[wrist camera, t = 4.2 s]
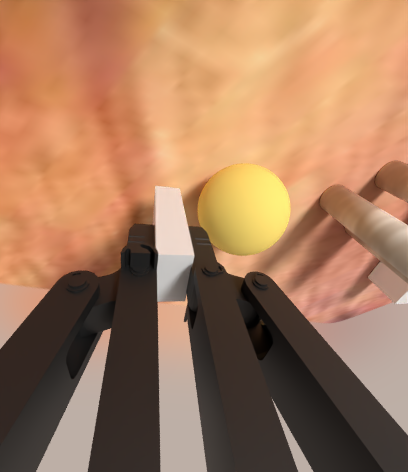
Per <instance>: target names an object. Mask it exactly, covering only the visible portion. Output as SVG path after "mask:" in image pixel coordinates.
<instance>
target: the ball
mask: <svg viewBox="0 0 408 472" xmlns="http://www.w3.org/2000/svg"><path fill="white" fill-rule="evenodd" d="M197 211H198V220H199V224H200V226H201V227H202V228H203V229H204V230H205V231H206V232H207V233H208V236H209V240H210V242H211V243H212V244H213V245H214V246H215V247H217V248H218V249H220V250H222V251H224V252H226V253H229V254H233V255H240V256H246V255H253V254H257V253H260V252H262V251H264V250H266V249H268V248H269V247H271V246H272V245H273V244H275V243H276V242H277V241H278V240H279V238H280V237H281V236H282V235H283V233H284V231H285V229H286V227H287V225H288V221H289V217H290V201H289V196H288V193H287V191H286V188H285V186H284V185H283V183H282V182H281V181H280V180H279V178H278V177H277V176H276V175H275V174H273V173H272V172H271V171H269V170H268V169H266V168H264V167H261V166H258V165H254V164H235V165H232V166H229V167H226V168H224V169H222V170H220V171H219V172H217V173H216V174H215V175H213V176H212V177H211V178H210V179H209V181H208V182H207V183H206V185H205V186H204V188H203V190H202V192H201V194H200V197H199V201H198V210H197Z"/></svg>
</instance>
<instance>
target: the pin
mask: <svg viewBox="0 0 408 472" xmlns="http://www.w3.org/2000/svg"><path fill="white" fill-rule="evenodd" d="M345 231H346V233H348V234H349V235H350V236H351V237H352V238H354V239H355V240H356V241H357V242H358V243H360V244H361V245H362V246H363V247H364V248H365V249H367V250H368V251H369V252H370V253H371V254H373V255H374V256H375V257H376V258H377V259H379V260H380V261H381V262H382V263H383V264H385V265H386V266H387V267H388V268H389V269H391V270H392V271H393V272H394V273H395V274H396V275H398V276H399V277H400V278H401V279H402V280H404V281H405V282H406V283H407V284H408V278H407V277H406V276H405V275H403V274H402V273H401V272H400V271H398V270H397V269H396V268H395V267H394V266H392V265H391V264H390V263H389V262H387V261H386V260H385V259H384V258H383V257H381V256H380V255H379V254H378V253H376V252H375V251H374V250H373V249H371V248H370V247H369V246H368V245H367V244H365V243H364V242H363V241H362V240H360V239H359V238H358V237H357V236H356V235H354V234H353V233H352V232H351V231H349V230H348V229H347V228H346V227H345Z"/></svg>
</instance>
